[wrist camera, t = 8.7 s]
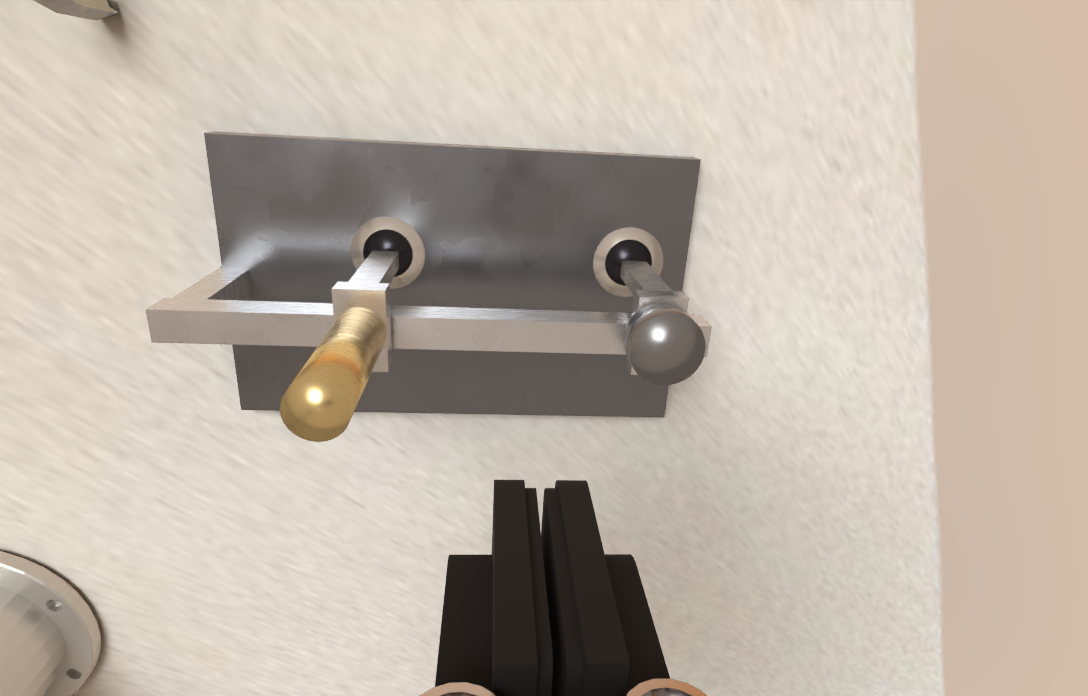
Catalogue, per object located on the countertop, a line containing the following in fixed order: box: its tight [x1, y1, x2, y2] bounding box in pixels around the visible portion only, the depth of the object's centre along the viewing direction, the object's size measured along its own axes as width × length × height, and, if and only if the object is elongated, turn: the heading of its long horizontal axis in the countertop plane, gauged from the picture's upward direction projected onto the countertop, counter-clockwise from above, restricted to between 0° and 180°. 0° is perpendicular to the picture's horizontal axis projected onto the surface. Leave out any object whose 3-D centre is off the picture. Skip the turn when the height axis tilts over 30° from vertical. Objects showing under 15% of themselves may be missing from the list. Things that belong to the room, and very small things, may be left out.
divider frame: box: [146, 258, 712, 385], centre depth 29 cm, size 3×23×10 cm, turn 87°
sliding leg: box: [280, 248, 399, 442], centre depth 25 cm, size 3×2×14 cm, turn 177°
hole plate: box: [204, 132, 700, 417], centre depth 33 cm, size 14×23×1 cm, turn 87°
